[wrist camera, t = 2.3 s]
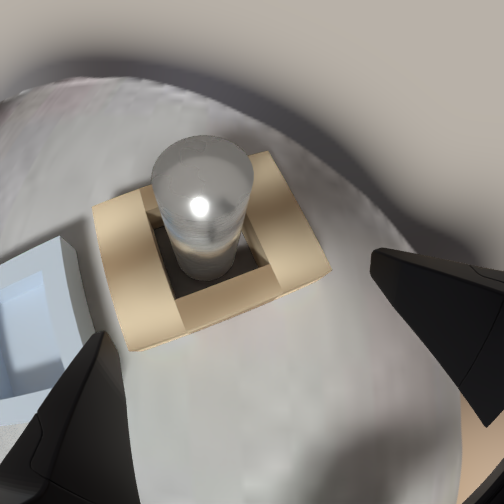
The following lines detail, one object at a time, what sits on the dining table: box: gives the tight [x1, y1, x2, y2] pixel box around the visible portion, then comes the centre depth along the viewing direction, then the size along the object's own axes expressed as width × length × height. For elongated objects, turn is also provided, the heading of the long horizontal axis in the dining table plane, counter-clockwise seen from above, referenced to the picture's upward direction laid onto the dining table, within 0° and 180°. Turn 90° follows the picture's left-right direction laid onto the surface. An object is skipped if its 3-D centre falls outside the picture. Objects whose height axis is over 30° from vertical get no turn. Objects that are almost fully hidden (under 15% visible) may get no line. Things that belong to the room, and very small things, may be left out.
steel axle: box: [151, 136, 254, 281], centre depth 16 cm, size 4×4×10 cm
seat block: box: [0, 236, 95, 426], centre depth 15 cm, size 12×12×3 cm
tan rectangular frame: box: [92, 151, 332, 351], centre depth 19 cm, size 10×14×3 cm
